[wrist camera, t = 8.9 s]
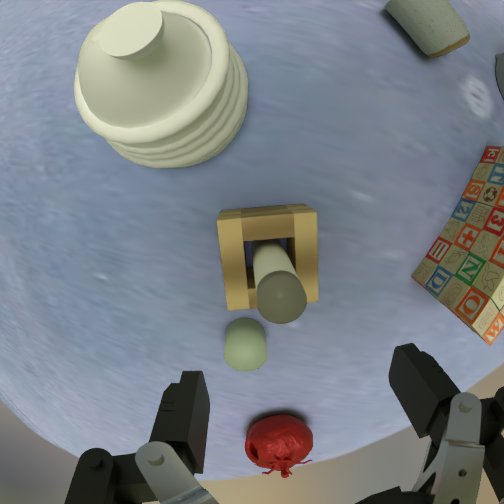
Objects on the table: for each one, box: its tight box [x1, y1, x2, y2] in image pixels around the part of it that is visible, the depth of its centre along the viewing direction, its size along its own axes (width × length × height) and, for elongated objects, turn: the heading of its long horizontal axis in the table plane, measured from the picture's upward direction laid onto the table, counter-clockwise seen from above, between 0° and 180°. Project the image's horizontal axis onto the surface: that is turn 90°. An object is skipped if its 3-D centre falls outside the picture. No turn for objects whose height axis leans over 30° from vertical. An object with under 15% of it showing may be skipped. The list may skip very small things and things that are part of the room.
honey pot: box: [74, 0, 248, 168], centre depth 15 cm, size 13×13×18 cm
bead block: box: [217, 204, 318, 311], centre depth 26 cm, size 8×8×5 cm
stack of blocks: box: [412, 146, 504, 346], centre depth 23 cm, size 21×6×12 cm, turn 146°
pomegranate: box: [245, 414, 313, 478], centre depth 32 cm, size 10×10×9 cm
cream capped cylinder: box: [251, 238, 307, 324], centre depth 23 cm, size 3×3×12 cm
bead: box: [224, 318, 267, 371], centre depth 29 cm, size 4×4×4 cm
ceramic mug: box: [385, 0, 470, 58], centre depth 17 cm, size 11×8×8 cm
